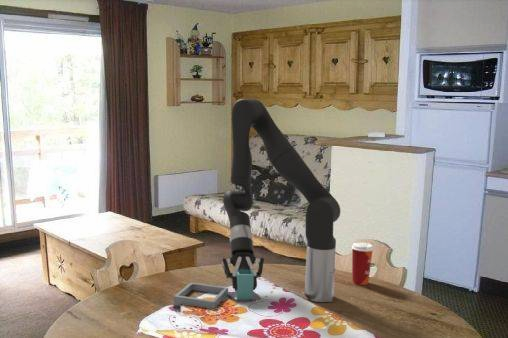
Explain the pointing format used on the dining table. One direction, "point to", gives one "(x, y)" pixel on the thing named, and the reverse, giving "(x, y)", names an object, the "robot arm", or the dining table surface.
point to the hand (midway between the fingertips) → (245, 289)
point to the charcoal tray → (181, 298)
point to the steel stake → (233, 298)
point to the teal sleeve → (244, 284)
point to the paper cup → (361, 262)
